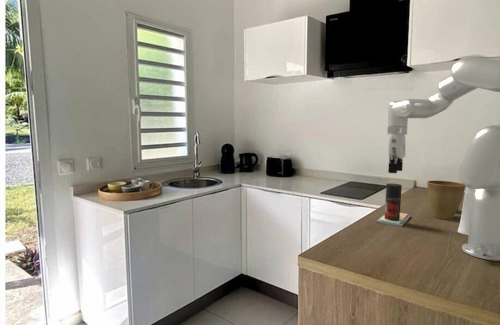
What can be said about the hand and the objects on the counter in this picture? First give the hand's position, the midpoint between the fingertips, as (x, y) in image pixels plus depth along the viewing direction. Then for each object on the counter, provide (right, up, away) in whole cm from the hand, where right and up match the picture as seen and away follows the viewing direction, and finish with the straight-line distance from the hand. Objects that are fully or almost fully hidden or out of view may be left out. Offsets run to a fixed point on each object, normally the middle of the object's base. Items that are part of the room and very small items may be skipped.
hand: (395, 171), depth 137 cm
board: (+2, -21, +7) cm, 22 cm away
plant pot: (+27, -21, +11) cm, 36 cm away
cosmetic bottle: (+23, -24, -10) cm, 35 cm away
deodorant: (0, -21, +3) cm, 21 cm away
